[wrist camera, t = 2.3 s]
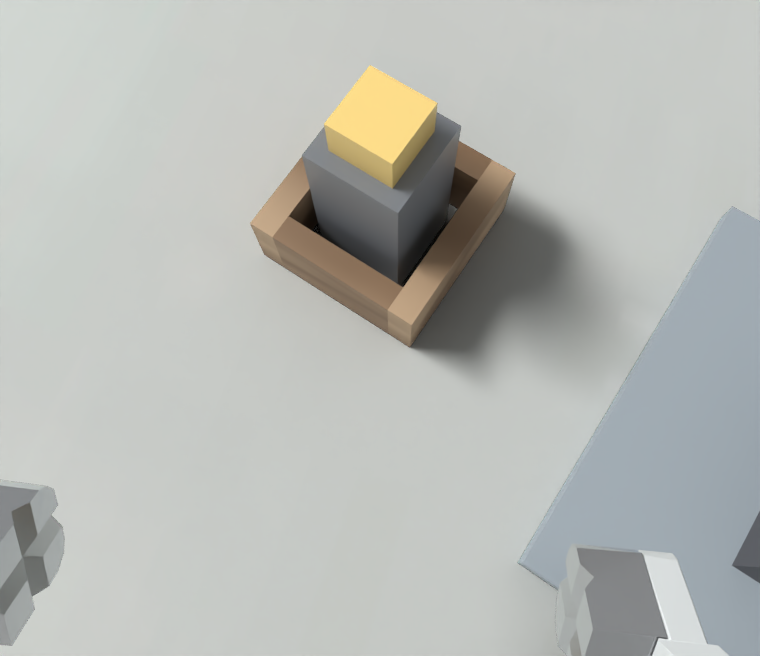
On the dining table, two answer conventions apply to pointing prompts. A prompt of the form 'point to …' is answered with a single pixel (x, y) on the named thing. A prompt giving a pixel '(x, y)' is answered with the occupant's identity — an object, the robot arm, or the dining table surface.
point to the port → (683, 448)
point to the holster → (361, 282)
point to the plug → (383, 174)
